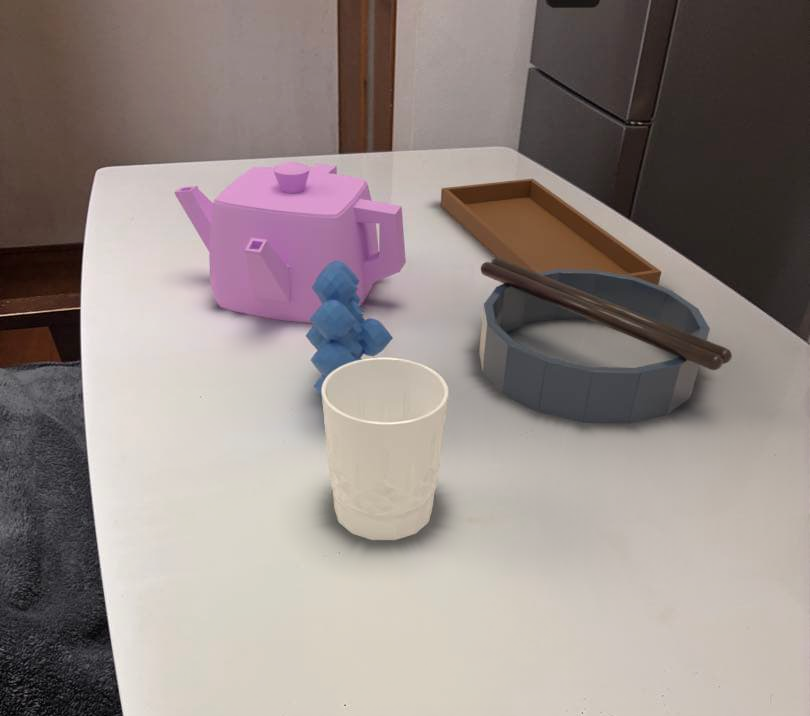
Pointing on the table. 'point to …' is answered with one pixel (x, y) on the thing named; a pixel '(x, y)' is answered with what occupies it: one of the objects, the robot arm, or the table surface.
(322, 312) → the grapes
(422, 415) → the white cup
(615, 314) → the chopsticks
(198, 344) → the table surface
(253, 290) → the teakettle
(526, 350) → the ring
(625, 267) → the tray
